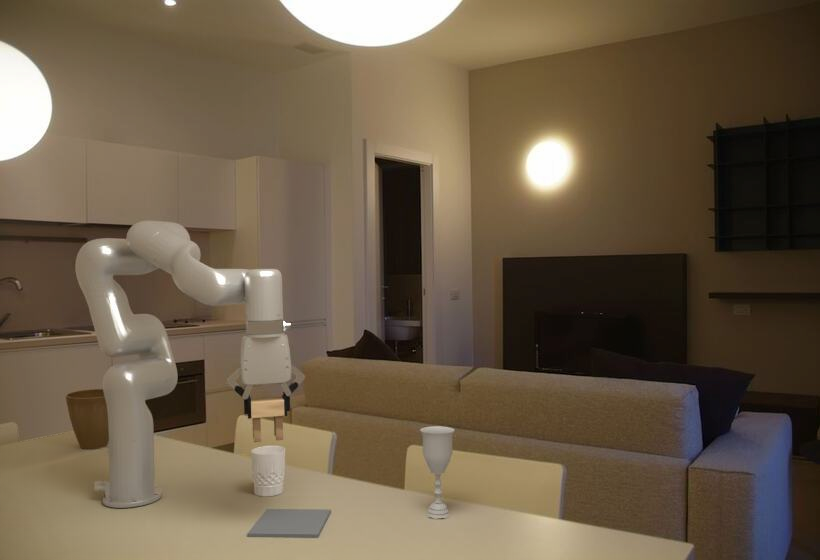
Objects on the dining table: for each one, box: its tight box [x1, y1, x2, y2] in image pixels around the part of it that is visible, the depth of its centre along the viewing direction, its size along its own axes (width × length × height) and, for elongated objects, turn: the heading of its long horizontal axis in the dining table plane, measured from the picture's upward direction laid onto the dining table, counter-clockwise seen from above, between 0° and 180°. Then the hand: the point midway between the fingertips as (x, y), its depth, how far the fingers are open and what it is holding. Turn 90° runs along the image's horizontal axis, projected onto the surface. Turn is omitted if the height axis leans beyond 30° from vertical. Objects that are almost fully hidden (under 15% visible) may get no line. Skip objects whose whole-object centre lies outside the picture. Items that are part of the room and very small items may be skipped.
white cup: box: [250, 445, 286, 497], centre depth 164 cm, size 8×8×10 cm
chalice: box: [420, 425, 455, 518], centre depth 147 cm, size 7×7×18 cm
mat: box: [246, 508, 332, 538], centre depth 143 cm, size 14×14×1 cm
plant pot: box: [65, 388, 109, 450], centre depth 209 cm, size 15×15×16 cm
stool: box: [250, 394, 286, 443], centre depth 144 cm, size 6×6×8 cm
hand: (267, 415), depth 144 cm, fingers closed on stool, 6 cm apart
